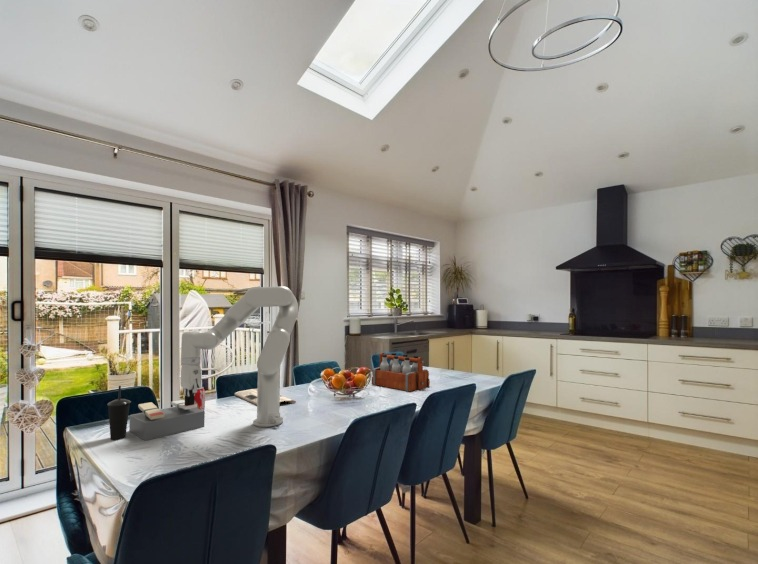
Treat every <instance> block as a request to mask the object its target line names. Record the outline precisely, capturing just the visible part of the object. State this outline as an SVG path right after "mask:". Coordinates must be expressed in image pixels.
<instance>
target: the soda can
mask: <svg viewBox="0 0 758 564" xmlns="http://www.w3.org/2000/svg"><path fill="white" fill-rule="evenodd" d="M204 388H205V387H204V386H201V388H197V392H196V393H195V396H194V403H195V404H197V407H196V408H198V409H200V410H203V411H205V409H206V408H205V407H206V391H205V389H204Z"/></svg>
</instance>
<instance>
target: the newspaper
mask: <svg viewBox="0 0 758 564" xmlns="http://www.w3.org/2000/svg"><path fill="white" fill-rule="evenodd" d="M234 396H236V397H238V398H241V399H242V400H245V401H246V402H250V403H251V404H253V405H256V406H257V388H250V389H246V390H245V389H244V390H239V391H237V392H234ZM284 401H285V402H284ZM283 402H284V403H287V402H288V404H289V403H293V404H296V403H297V402H296V400H294V399H292V398H288V397H285V396H283V395H281V394H280V403H283Z"/></svg>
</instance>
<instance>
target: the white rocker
mask: <svg viewBox="0 0 758 564" xmlns="http://www.w3.org/2000/svg"><path fill="white" fill-rule="evenodd" d="M170 405H171V406H173V407H175V406H176V407H179V408H182V409H185V410H186V409H191V408H196V407H197V404H195V403H194V405H188V406H186V405H185V399H179V400H173V401H171V402H170Z"/></svg>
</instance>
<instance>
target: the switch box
mask: <svg viewBox="0 0 758 564" xmlns="http://www.w3.org/2000/svg"><path fill="white" fill-rule="evenodd" d="M159 409H160V410H161V411H162V412H163V413H164V414H165V416H164V417H162V418H158V419H153V420H150V419H149V418H148V417H147V416H146V415H145V414H144V413H143V412H138V413H133V414H130V415H129V425H128V426H129V430H128V431H129V432H130V433H132V434H133V435H135V436H137V437H138V438H139V439H141V440H143V441H144V442H145V441H150V440H154V439H159V438H163V437H167V436H170V435H175V434H180V433H183V432H188V431H192V430H197V429H200V428H205V417H206V416H205V415H206V413H205V410H204V411H203V410H200V409H198V408H191V409H186V410H185V409H182V408H179V407H176V406H170V407H164V408H159Z"/></svg>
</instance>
